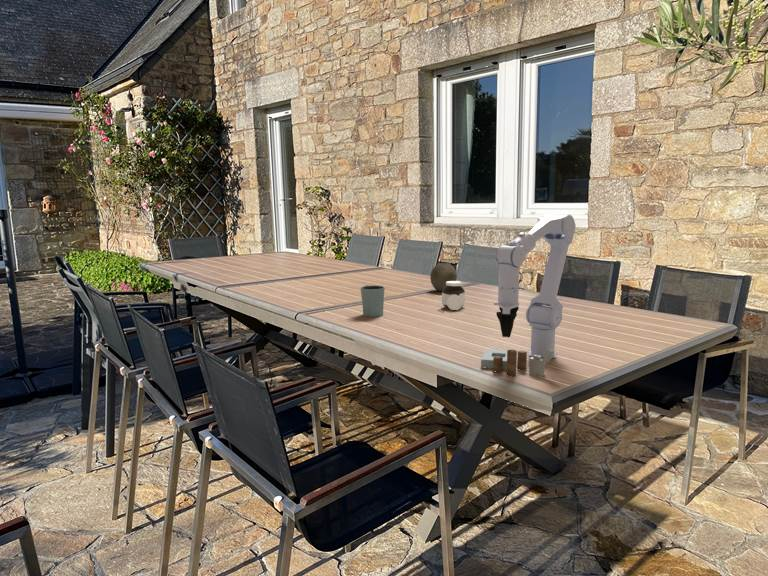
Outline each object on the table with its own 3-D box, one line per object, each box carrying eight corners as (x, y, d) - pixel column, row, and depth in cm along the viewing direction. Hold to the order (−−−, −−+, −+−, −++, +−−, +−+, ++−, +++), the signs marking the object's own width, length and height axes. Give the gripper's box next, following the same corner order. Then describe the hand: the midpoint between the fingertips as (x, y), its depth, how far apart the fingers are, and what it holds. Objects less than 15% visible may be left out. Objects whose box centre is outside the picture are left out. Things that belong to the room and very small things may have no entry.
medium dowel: (517, 367, 166) (517, 350, 165) (526, 367, 165) (527, 351, 164) (516, 369, 163) (517, 352, 163) (526, 370, 163) (526, 353, 162)
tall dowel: (506, 373, 160) (507, 349, 159) (516, 374, 159) (517, 350, 158) (506, 376, 158) (506, 351, 156) (515, 377, 157) (516, 352, 156)
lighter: (528, 372, 161) (529, 345, 159) (532, 371, 162) (533, 344, 161) (550, 378, 155) (551, 350, 154) (554, 377, 157) (555, 349, 155)
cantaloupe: (427, 292, 296) (427, 264, 294) (433, 288, 309) (433, 261, 307) (454, 294, 292) (454, 265, 289) (459, 289, 305) (459, 262, 303)
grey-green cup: (388, 313, 243) (388, 286, 242) (378, 318, 234) (378, 289, 232) (367, 311, 248) (367, 284, 246) (356, 316, 239) (356, 288, 237)
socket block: (485, 356, 177) (485, 348, 177) (515, 358, 175) (515, 350, 174) (480, 367, 166) (481, 359, 165) (512, 370, 163) (512, 361, 163)
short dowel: (493, 369, 164) (493, 356, 163) (502, 370, 163) (503, 356, 163) (492, 372, 162) (493, 358, 161) (501, 372, 161) (502, 359, 160)
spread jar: (456, 305, 262) (456, 280, 260) (472, 309, 253) (473, 283, 251) (435, 307, 256) (436, 282, 254) (452, 312, 246) (452, 285, 244)
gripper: (496, 283, 171) (495, 327, 173) (491, 291, 157) (490, 338, 159) (520, 284, 169) (519, 328, 171) (518, 292, 155) (516, 340, 157)
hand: (507, 333), depth 165 cm, fingers open, 7 cm apart
